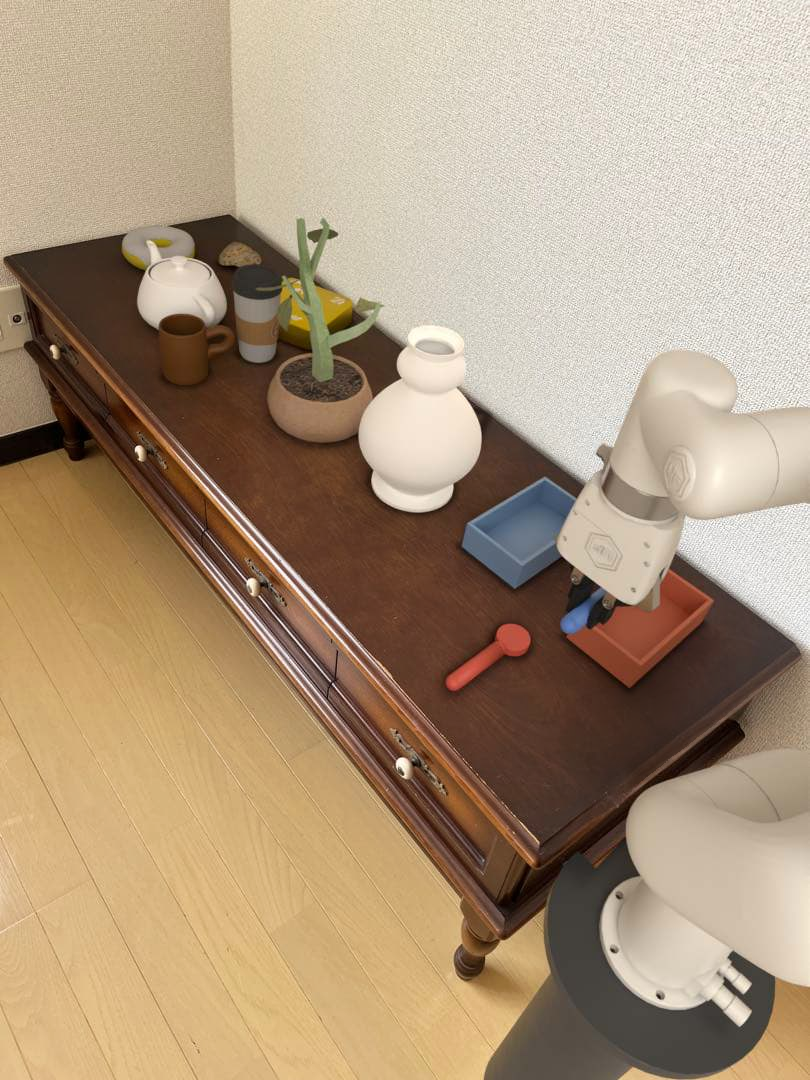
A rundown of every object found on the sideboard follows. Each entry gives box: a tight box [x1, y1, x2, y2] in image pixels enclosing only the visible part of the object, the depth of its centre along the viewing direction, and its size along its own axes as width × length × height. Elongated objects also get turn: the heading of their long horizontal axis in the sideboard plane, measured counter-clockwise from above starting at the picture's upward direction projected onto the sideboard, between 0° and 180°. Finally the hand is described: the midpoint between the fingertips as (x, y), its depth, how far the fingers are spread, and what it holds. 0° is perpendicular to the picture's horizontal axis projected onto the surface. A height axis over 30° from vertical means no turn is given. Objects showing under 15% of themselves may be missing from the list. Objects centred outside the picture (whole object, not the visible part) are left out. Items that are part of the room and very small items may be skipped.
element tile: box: [277, 277, 354, 351], centre depth 153 cm, size 15×15×5 cm
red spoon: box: [445, 623, 532, 692], centre depth 101 cm, size 14×4×2 cm, turn 133°
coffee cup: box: [231, 263, 283, 364], centre depth 140 cm, size 8×8×15 cm
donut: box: [121, 225, 196, 272], centre depth 163 cm, size 14×14×5 cm
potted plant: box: [256, 217, 386, 444], centre depth 126 cm, size 22×18×30 cm
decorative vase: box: [358, 324, 482, 513], centre depth 116 cm, size 18×18×25 cm
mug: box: [158, 314, 235, 387], centre depth 135 cm, size 12×8×9 cm, turn 102°
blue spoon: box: [559, 586, 606, 634], centre depth 87 cm, size 14×4×2 cm, turn 134°
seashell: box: [218, 241, 263, 268], centre depth 167 cm, size 8×6×8 cm
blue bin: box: [461, 476, 577, 590], centre depth 117 cm, size 17×10×5 cm, turn 133°
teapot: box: [136, 240, 228, 331], centre depth 146 cm, size 25×16×12 cm, turn 36°
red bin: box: [565, 568, 715, 689], centre depth 107 cm, size 17×10×5 cm, turn 133°
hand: (586, 613), depth 86 cm, fingers closed on blue spoon, 2 cm apart
